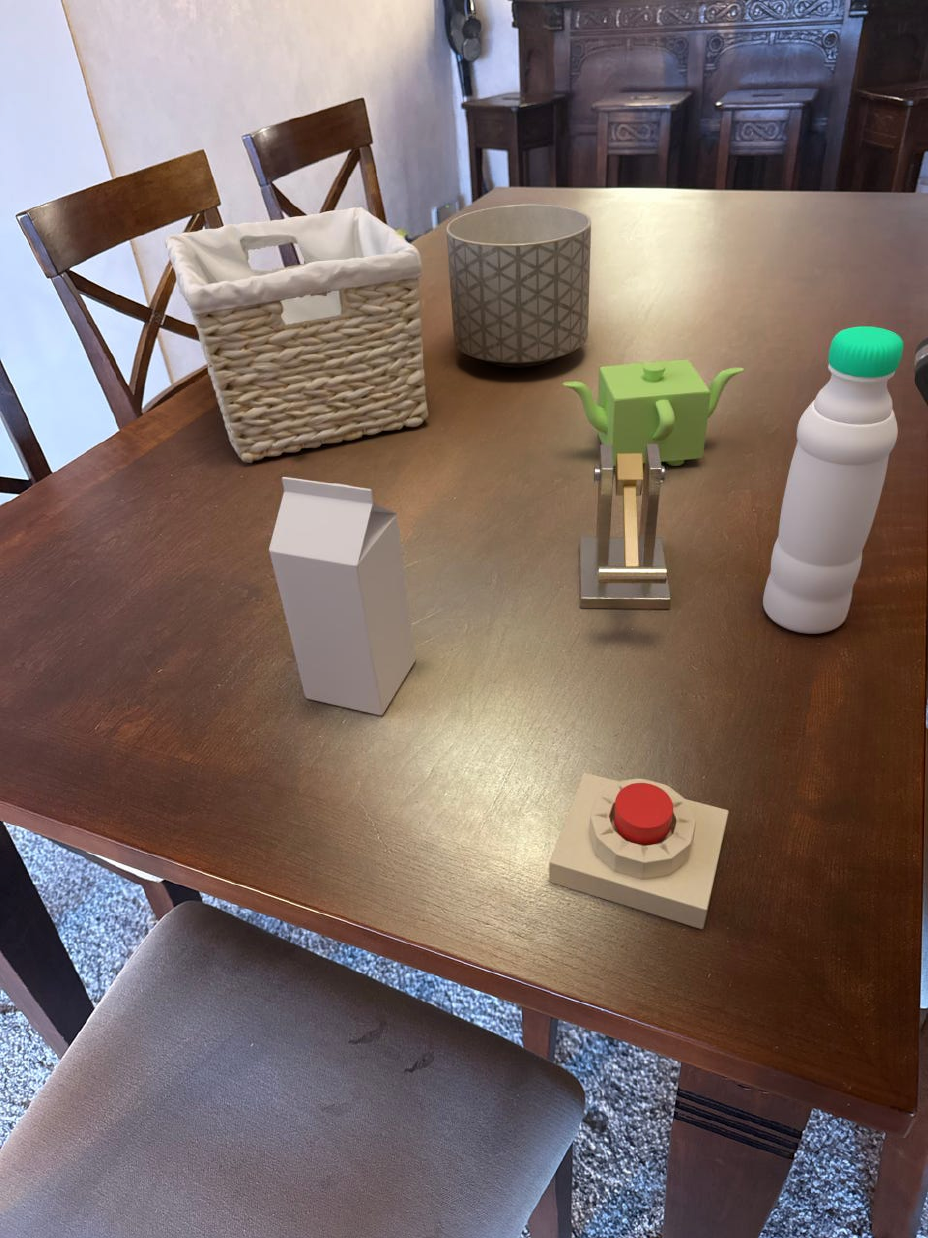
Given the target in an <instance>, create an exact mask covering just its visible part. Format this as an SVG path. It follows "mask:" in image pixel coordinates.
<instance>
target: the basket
mask: <svg viewBox="0 0 928 1238" xmlns="http://www.w3.org/2000/svg"><path fill="white" fill-rule="evenodd" d="M164 243H165V244H164V245H165V248H166V252H167V256H168V259H169V261H170V262H171V264H172V268H173V272H174V274H175V280H176V283H177V285H178V288H179V293H180V295H181V296H182V297H183V299H184V301H186V305H187V306H188V308H189V310H190V312H191V316H192V318H193V322H194V327H195V328H196V331H197V334H198V338H199V342H200V346H201V350H202V351H203V356H204V359H205V361H206V365H207V373H208V375H209V376H210V381H211V384H212V387H213V391H214V392H215V398H216V400H217V403H218V406H219V411H220V413H221V414H222V419H223V421H224V427H225V430H226V431H227V436H228V440H229V442H230V445H231V446H232V448H233V449H234V451H235V453H236V454H237V455H238V457H239V458H240V460H241V461H242V462H243V463H246V464H251V463H253V462H255V461H260V460H262V459H263V458H264V457H278V456H281V455H282V454H283V453H297V452H300V451H301V450H302V449H318V448H319V447H321V445H322V444H323V445H324V444H337V443H342V442H343V441H353V440H356V439H360V438H362V437H363V436H364V435H366V436H372V435H376V434H378V433H381V432H382V431H384V432H386V431H395V430H397V431H399V430H401V429H403V427H404V426H405V427H406V428H407V427H408V428H415V427H418V426H420V425H422V424H423V423H424V420H426V419H427V418H428V417H429V410H428V403H427V398H426V394H427V393H426V391H427V390H426V386H425V377H426V375H425V370H424V353H423V350H424V343H423V338H422V336H421V335H422V330H423V328H422V324H423V323H422V319H421V299H420V295H421V294H420V279H419V278H421V277H422V276H423V274H422V270H423V262H422V257H421V253H420V252H419V250H418V249H417V247H416V246H415V245H413V244H411V243H410V242H408V241H407V240H406V239H405V237H403V235H401V234H399V233H398V232H397V231H396V229H394V228H392V227H391V226H389V224H386V223H385V222H383V221H382V220H381V219H379V218H378V217H377V216H374V215H373V214H372V213H371V212H370V211H368V210H366V209H365V208H364V207H363V206H358V207H356V206H353V207H349V208H343V209H334V210H327V211H322V212H320V213H310V214H307V215H300V216H299V215H297V216H292V217H291V216H290V217H286V218H283V219H273V220H268V221H267V220H266V221H264V220H263V221H261V220H259V221H254V222H247V221H246V222H240V223H237V224H234V223H228V224H224V225H223V226H220V227H218V228H217V227H216V228H206V229H199V230H197V231H190V232H182V233H179V234H178V233H177V234H176V233H174V234H173V233H172V234H170V235H167V236H166V238H165V240H164ZM286 244H297V245H298V249H299V250H300V254H301V257H302V259H303V263H300V264H293V265H288V266H286V267H279V268H278V267H276V268H273V269H261V270H260V269H253V268H252V267H251V264H250V263H249V257H250V255H249V251H250V250H252V251H253V250H261V249H263V248H264V249H265V248H269V247H277V246H282V245H286Z"/></svg>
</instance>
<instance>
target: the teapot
mask: <svg viewBox="0 0 928 1238" xmlns="http://www.w3.org/2000/svg"><path fill="white" fill-rule="evenodd" d="M744 370H745V369H744V368H743V367H730V368H726V369H723V370H721V371H720V372H719V373H718V374H717V375H715V377H714V379H713V380H712V381H711V383H710V385H709V387H708V386H707V384H706V383H705V381H704V380H703V378H702V376H701V375H700V374H699V373H698V371H697V370H696V368H695V367H694V365H693V364H692V362H691V361H690V359H676V360H662V361H648V362H643V361H635V362H633V363H629V364H616V365H605V366H604V365H603V366H600V367H599V369H598V391H597V392H598V394H597V403H596V401H595V399H594V395H593V393H592V391H591V389H590V387H589V386H588V385H587V384H586V383H584V382H582V381H565V382H563V383H562V386H564V387H567V388H569V389H570V390H571V389H572V391H574V392H576V393H577V395H578V396H579V399H580V400H581V403H582V406H583V411H584V413H585V416H586V418H587V420H588V423H589V424H590V425H591V426H592V427H593V428H594V429H595V430H596V431H597V434H598V436H599V439H600V441H601V445H612V456H613V467H614V466H615V467H616V458H617V454H626V453H642V454H643V464H645V455H646V445H647V444H658V448H659V454H660V460H661V463H662V462H663V463H664V462H665V464H667V465H669V466H672V467H673V466H677V467H678V466H681V465H683V464H684V463H685V460H697V459H703V458H704V451H705V443H706V436H707V435H706V433H707V426H708V419H709V418H710V417H711V416H712V415H713V414H714V412H715V410H716V408H717V406H718V404H719V401H720V398H721V396H722V394H723V391H724V388H725V387H726V386H727V384H728V382H729V381H730V380H731V379H732V378H734V377H735V376H737V375H738V374H740V373H741V372H743V371H744Z"/></svg>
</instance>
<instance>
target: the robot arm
mask: <svg viewBox="0 0 928 1238" xmlns="http://www.w3.org/2000/svg"><path fill="white" fill-rule="evenodd" d="M914 352H915V355H914V366H913V367H914V371H913V373H914V384H915V386H916V389H917V390H918V391H919V394H920V395H921V397H922V398H923V400H924V402H925V404H926V405H927V406H928V337H927V338H924V339H923V340H921V341H920V342H919V344H918V345H917V346H916V348H915V351H914Z"/></svg>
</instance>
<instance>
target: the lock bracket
mask: <svg viewBox="0 0 928 1238" xmlns="http://www.w3.org/2000/svg"><path fill="white" fill-rule="evenodd" d="M614 471H615V468H614V466H613V456H612V445H603V444H600V445H599V465H598V466H594V468H593V483H594V484H598V485H597V488H598V489H597V509H596V510H597V512H596V530H595V531H596V535H595V536H580V537H579V542H578V544H579V545H578V550H579V553H578V555H579V557H578V558H579V600H580V601H579V607H580V609H613V610H615V609H617V610H618V609H621V610H623V609H624V610H627V609H628V610H629V609H630V610H670V609H671V601H672V599H671V598H672V597H671V592H670V585H669V584H670V583H669V579H668V578H669V577H668V576H667V581H666V583H665V584H639V583H598V566H624V536H611V526H612V525H611V521H612V505H613V488H614V486H613V485H614ZM643 479H644V480H643V486H642V492H641V505H640V507H641V508H640V517H639V518H640V519H639V529H638V551H639V566H666V567H667V563H666V557H665V552H664V551H665V550H664V544H663V538H662V536H656V535H657V526H658V525H657V524H658V516H659V504H660V494H661V484H662V483H665V480H666V466H664V465H662V462H661V460H660V454H659V448H658V444H647V445H646V455H645V463H644V467H643Z"/></svg>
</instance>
